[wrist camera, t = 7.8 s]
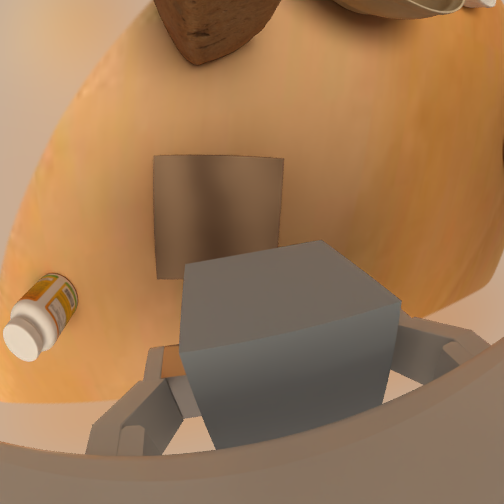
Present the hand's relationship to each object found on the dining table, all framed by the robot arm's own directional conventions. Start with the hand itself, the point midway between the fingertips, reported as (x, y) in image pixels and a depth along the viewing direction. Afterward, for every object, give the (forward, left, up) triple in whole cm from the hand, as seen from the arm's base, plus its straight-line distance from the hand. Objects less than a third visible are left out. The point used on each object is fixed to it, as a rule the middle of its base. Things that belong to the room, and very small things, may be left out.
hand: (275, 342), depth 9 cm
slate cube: (0, 0, -2) cm, 2 cm away
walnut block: (+1, -1, -20) cm, 20 cm away
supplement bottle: (+20, +5, -20) cm, 29 cm away
